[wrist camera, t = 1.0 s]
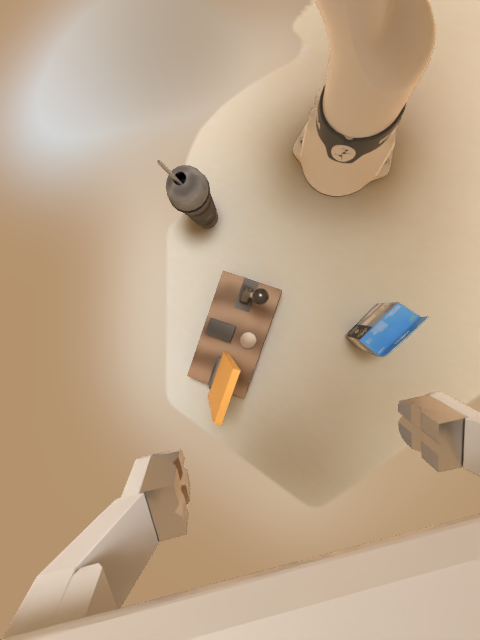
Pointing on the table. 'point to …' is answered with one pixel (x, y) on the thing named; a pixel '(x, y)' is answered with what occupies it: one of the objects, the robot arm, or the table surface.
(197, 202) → the beverage cup
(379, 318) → the label tape box
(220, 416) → the orange paddle
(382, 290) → the table surface
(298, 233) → the table surface
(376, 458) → the table surface
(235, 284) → the control panel
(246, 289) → the steel toggle lever
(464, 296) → the table surface
